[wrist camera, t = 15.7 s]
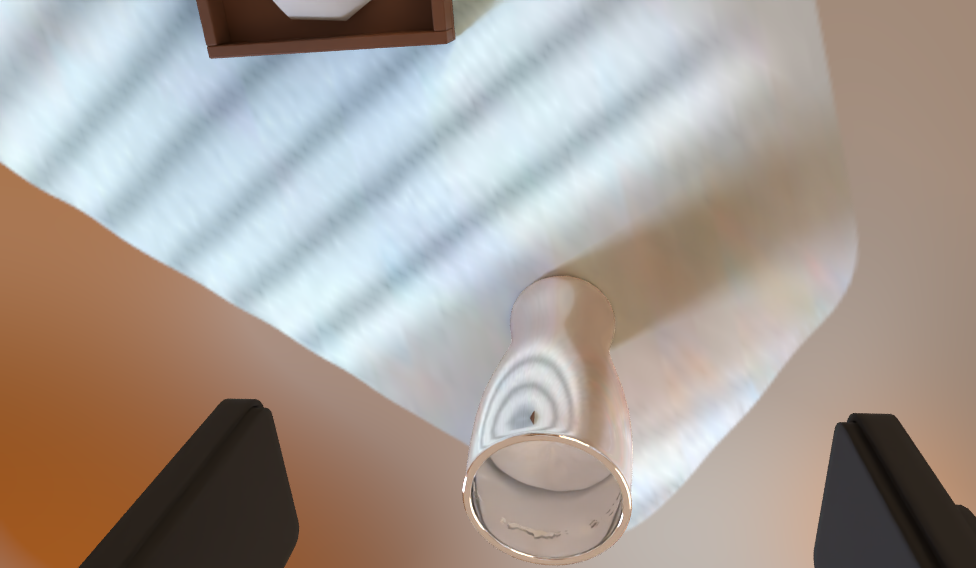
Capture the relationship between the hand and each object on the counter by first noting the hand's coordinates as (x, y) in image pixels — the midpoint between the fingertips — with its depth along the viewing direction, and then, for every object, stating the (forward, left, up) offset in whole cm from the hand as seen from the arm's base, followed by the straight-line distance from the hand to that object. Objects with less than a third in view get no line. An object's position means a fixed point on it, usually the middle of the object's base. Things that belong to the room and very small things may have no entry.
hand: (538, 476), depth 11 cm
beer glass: (+1, +11, -26) cm, 29 cm away
